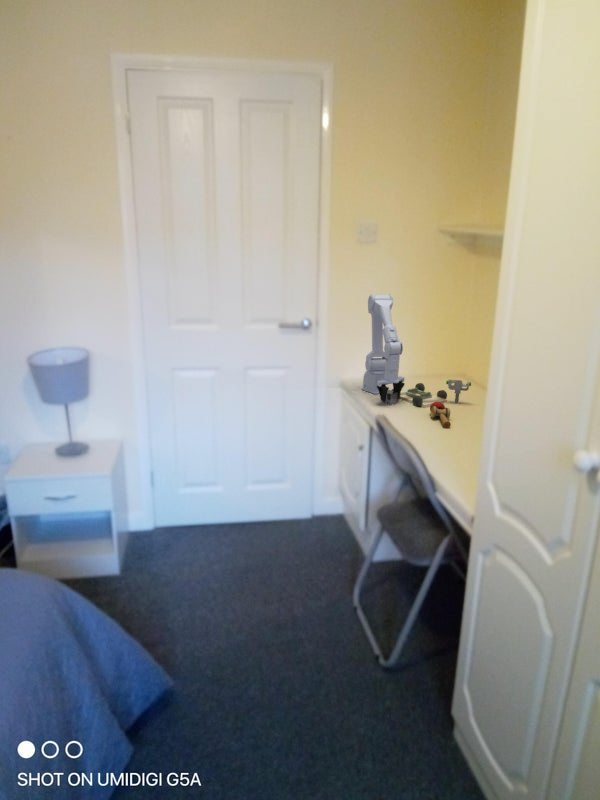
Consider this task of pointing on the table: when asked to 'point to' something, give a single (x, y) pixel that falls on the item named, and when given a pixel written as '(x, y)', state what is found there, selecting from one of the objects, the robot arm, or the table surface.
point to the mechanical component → (457, 387)
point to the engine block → (391, 397)
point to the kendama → (441, 413)
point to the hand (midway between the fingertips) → (389, 399)
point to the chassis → (422, 396)
